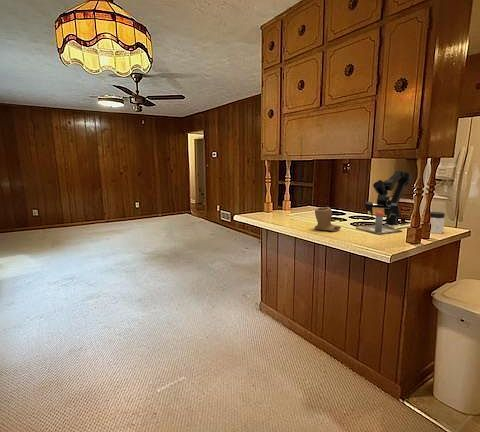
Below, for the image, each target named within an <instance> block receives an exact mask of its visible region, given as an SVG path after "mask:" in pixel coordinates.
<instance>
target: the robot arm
mask: <svg viewBox="0 0 480 432" xmlns="http://www.w3.org/2000/svg"><path fill="white" fill-rule="evenodd" d="M412 178H413V177H412V175H411V174H410V173H408V172H405V171H404V170H396V171H395V172H394V173H393V174H392V175H391V176H390V177H389V178H388V179H385V180H381V179H378V181H376V182H374V183H373V185H372V186H373V189H374V191H375V192H376V194H377V198H376V203H373V201H366V202H365V204H364V205H365V206H364V207H365V211H367V212H369V213H370V215H371V216H370V217H371V218H373V215H374V214H373V208H375V209H376V208H378V209H383V214H384V216H386V222H384V225H385V224H386V225H388V226H389V225H390V226H398V225H399V223H398V217H400V216H401V211H400V206H399V202H400V199H401V198H402V194H403V192H404V190H405V187H406V186H407V185H410V183H411V182H412ZM396 183H397V185H396ZM395 185H396V187H395ZM393 189H395V190H394V191H393V195H392V197H391V199H390V196H391V195H390V194H389V192H391V191H392V190H393ZM388 191H389V192H388Z"/></svg>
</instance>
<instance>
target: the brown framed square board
mask: <svg viewBox="0 0 480 432" xmlns="http://www.w3.org/2000/svg"><path fill="white" fill-rule="evenodd" d="M355 230H359V231H363V232H366V233H371V234H374V235H378V236H383V235H389V234H398V233H402V232H403V230H401V229H396V228H395V227H394V226H391V225H390V226H389V225H387V224H386V225H385V224H384V225H383V224H382V232H375V224H373V225H365V226H356V227H355Z"/></svg>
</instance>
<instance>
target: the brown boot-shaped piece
mask: <svg viewBox="0 0 480 432" xmlns="http://www.w3.org/2000/svg"><path fill="white" fill-rule="evenodd" d="M332 210H333V209H332V208H331V207H329V206H326V207H323V206H321V207H317V208H315V210H314V217H315V219H316V222H317V225H315V226H314V229H315V230H321V231H326V232H327V231H328V232H337V231H339V230H340V229H341V228H342V227H341V226H340V225H335V224H332V223H331V222H332V216H333V211H332Z"/></svg>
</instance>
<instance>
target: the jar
mask: <svg viewBox="0 0 480 432" xmlns="http://www.w3.org/2000/svg"><path fill="white" fill-rule="evenodd" d="M430 212H431V234H439V233H441V234H443V233H444V229H445V219H446V217H445V215H446V213H445V212H443V211H430Z"/></svg>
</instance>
